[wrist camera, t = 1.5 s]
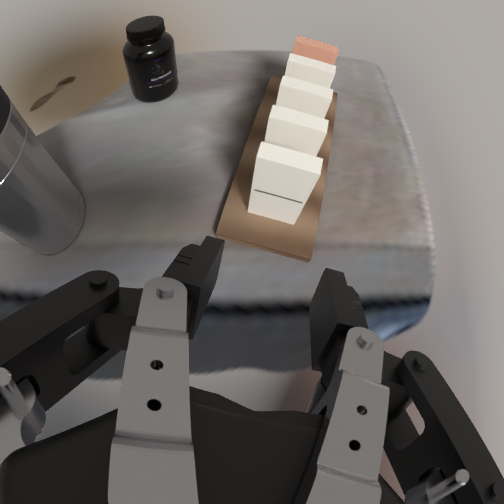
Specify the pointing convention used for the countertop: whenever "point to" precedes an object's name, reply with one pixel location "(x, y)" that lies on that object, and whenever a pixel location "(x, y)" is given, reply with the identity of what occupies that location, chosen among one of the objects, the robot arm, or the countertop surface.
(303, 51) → the domino
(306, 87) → the domino
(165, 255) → the countertop surface
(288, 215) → the domino
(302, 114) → the domino
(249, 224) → the board
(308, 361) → the countertop surface
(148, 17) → the supplement bottle
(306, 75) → the domino
